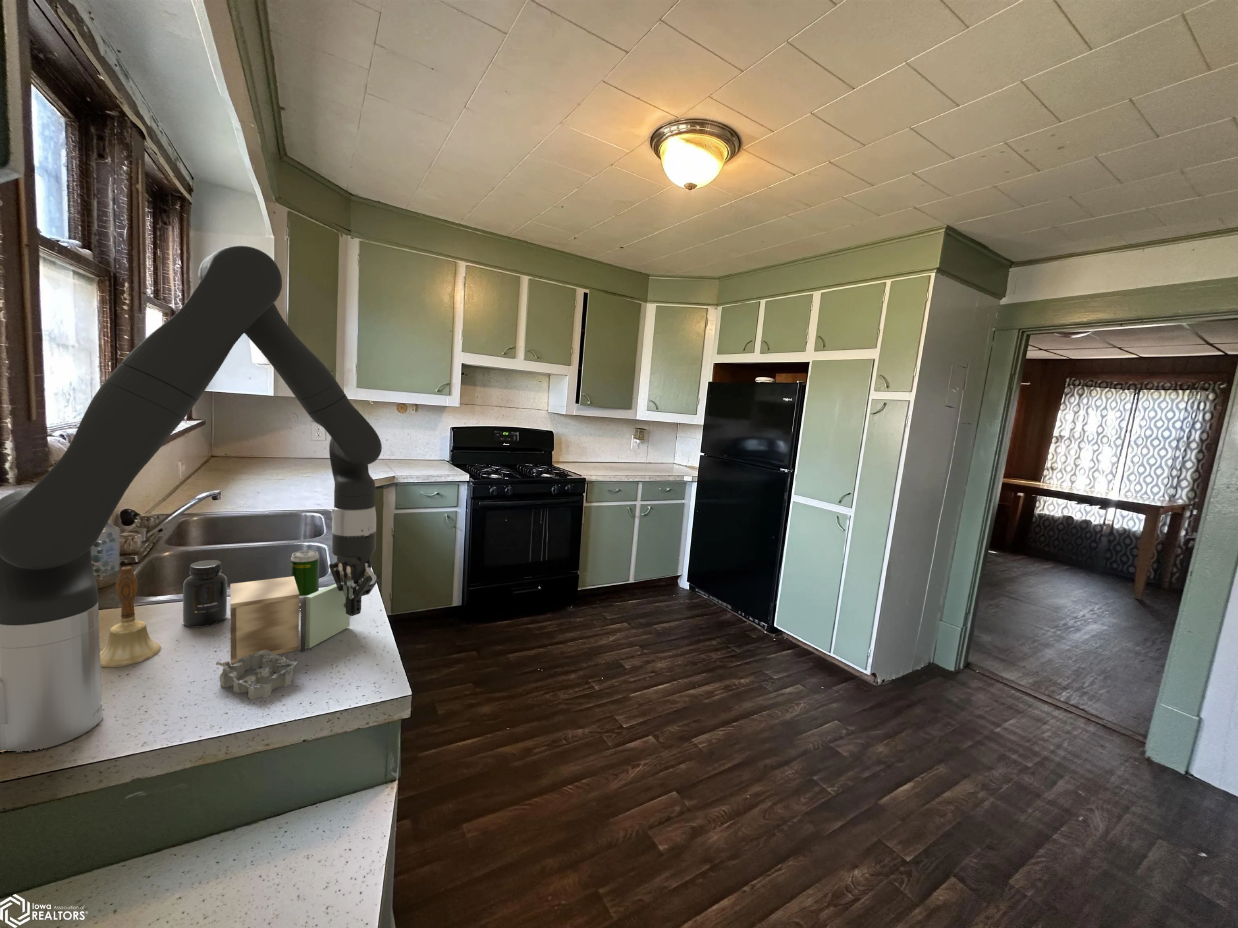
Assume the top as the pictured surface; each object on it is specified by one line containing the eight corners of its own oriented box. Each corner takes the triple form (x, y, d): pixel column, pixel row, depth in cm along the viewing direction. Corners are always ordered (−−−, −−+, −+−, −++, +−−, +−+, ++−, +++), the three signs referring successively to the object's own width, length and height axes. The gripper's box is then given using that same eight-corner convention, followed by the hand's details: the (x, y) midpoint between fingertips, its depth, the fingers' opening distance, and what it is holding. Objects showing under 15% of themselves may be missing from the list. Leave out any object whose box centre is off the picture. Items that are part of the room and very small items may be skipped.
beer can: (320, 607, 110) (321, 555, 109) (291, 612, 107) (292, 558, 105) (316, 598, 114) (317, 548, 113) (288, 603, 111) (289, 551, 109)
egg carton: (212, 685, 80) (212, 661, 80) (261, 664, 87) (261, 642, 87) (253, 705, 76) (253, 680, 76) (301, 681, 83) (301, 658, 83)
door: (304, 646, 93) (305, 596, 92) (344, 625, 102) (345, 579, 101) (314, 649, 93) (315, 598, 91) (353, 627, 102) (354, 581, 101)
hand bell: (173, 648, 89) (171, 563, 87) (119, 671, 81) (116, 578, 79) (136, 640, 91) (134, 556, 89) (80, 662, 83) (76, 571, 81)
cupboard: (230, 666, 85) (230, 605, 84) (230, 639, 94) (230, 583, 93) (305, 651, 92) (306, 595, 91) (299, 627, 101) (299, 575, 99)
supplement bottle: (203, 630, 96) (202, 571, 95) (173, 624, 97) (172, 566, 96) (235, 616, 103) (235, 560, 101) (207, 611, 104) (207, 556, 102)
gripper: (314, 526, 95) (314, 611, 97) (357, 539, 89) (356, 630, 91) (351, 519, 102) (350, 599, 104) (394, 531, 96) (392, 616, 98)
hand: (353, 613), depth 98 cm, fingers closed
